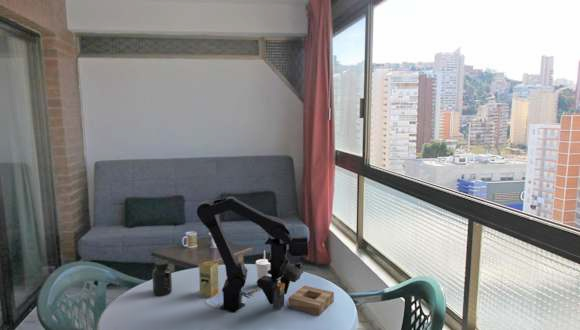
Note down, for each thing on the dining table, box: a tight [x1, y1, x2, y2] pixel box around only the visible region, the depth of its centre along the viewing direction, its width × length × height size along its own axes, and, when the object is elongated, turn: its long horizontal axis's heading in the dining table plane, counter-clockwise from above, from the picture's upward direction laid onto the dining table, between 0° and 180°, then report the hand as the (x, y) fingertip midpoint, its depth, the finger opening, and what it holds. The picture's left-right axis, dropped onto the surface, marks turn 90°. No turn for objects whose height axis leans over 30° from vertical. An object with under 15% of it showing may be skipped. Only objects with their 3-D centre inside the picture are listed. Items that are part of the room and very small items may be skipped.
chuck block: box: [288, 285, 335, 316], centre depth 147 cm, size 12×12×4 cm
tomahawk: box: [242, 279, 280, 299], centre depth 161 cm, size 21×7×1 cm, turn 140°
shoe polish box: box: [198, 260, 219, 299], centre depth 154 cm, size 5×5×12 cm
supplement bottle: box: [152, 259, 173, 297], centre depth 155 cm, size 7×7×12 cm
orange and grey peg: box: [271, 281, 285, 311], centre depth 144 cm, size 3×3×8 cm
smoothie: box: [255, 250, 271, 280], centre depth 162 cm, size 6×6×14 cm
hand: (278, 298), depth 144 cm, fingers open, 9 cm apart
